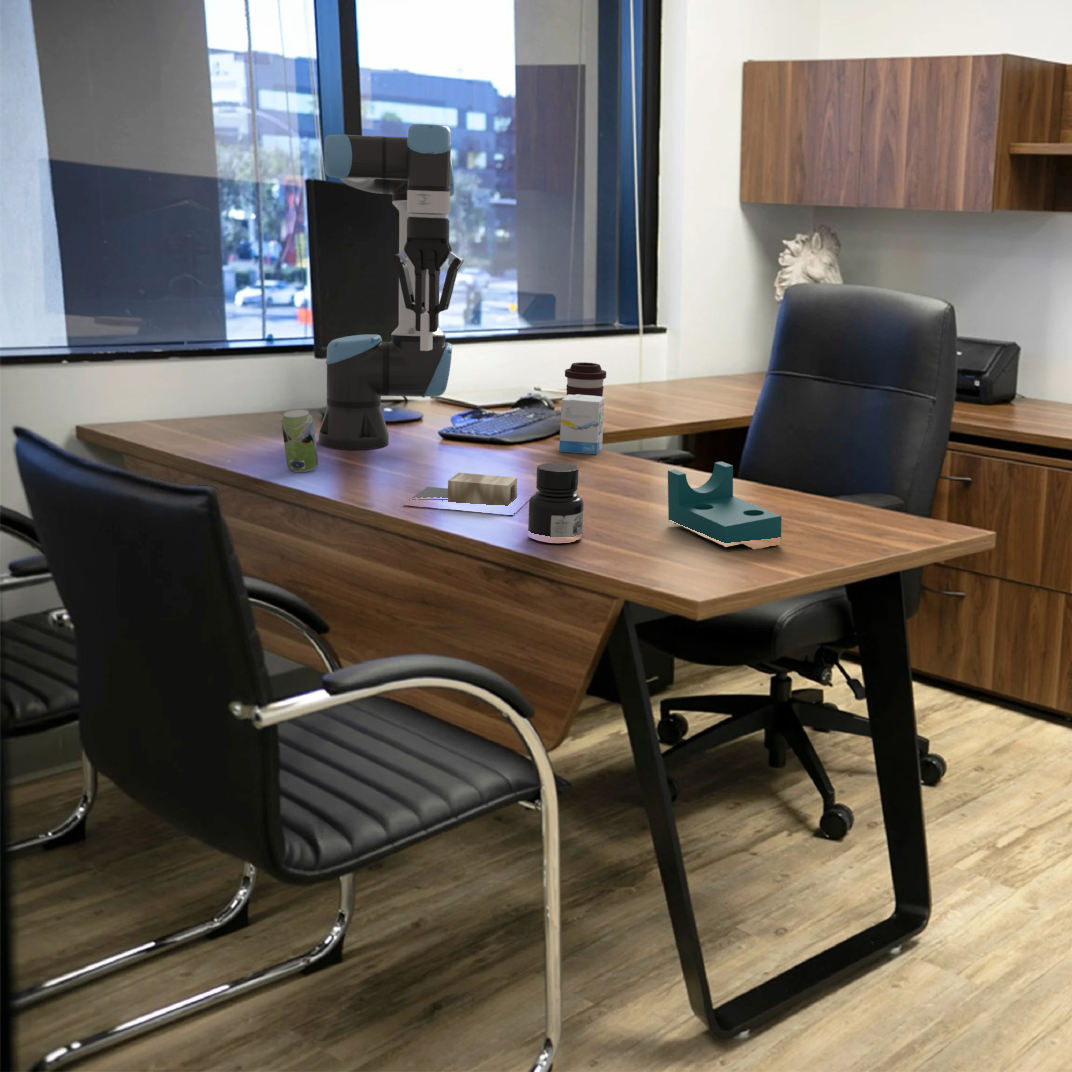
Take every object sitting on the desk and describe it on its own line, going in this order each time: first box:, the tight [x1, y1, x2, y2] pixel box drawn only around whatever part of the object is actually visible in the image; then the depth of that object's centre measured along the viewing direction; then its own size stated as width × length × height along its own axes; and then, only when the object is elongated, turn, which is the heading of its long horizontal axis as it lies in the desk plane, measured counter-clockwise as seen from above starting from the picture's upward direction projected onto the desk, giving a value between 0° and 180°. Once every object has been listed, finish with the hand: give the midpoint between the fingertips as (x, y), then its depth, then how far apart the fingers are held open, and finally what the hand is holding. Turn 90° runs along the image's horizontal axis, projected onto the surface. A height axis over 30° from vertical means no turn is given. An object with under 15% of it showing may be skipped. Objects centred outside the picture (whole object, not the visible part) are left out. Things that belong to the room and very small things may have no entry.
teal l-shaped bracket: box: [667, 461, 782, 543], centre depth 219 cm, size 18×11×10 cm, turn 25°
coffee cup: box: [564, 361, 607, 397], centre depth 315 cm, size 10×10×15 cm
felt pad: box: [408, 486, 448, 501], centre depth 237 cm, size 20×14×1 cm
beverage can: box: [281, 408, 319, 473], centre depth 256 cm, size 6×7×12 cm
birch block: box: [447, 472, 518, 506], centre depth 236 cm, size 4×7×11 cm
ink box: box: [558, 394, 606, 455], centre depth 287 cm, size 8×8×12 cm
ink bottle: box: [527, 462, 584, 537], centre depth 214 cm, size 10×9×12 cm
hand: (426, 349), depth 237 cm, fingers closed
